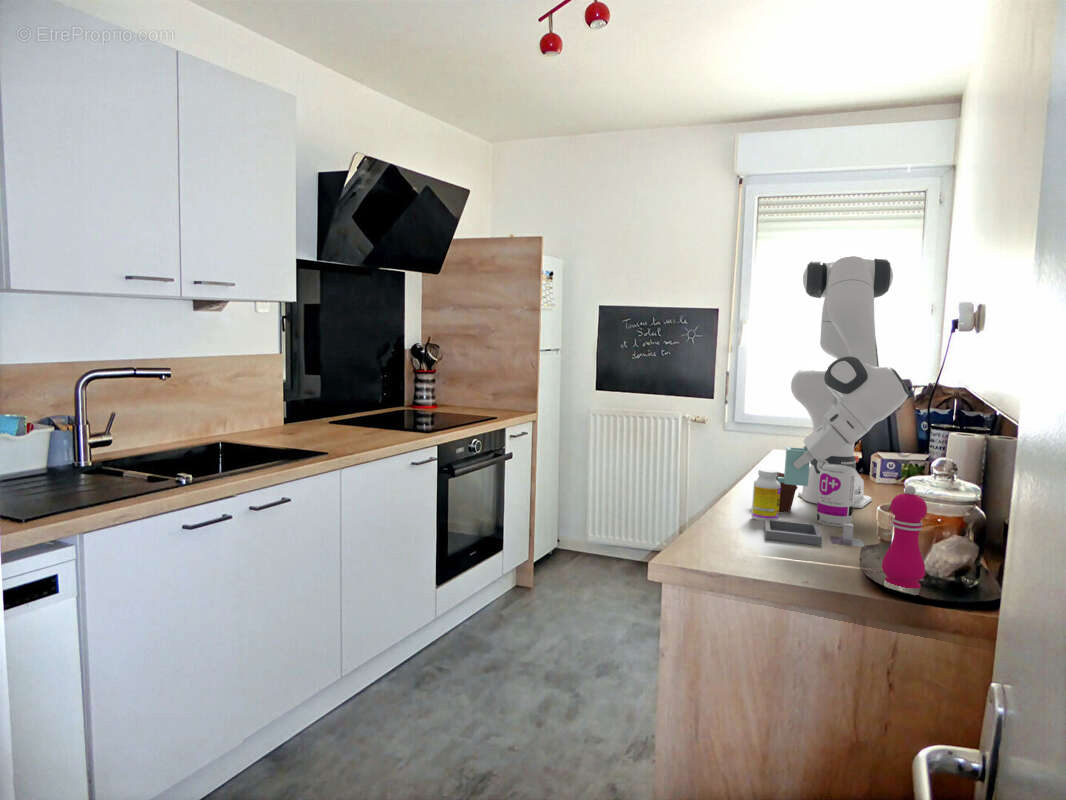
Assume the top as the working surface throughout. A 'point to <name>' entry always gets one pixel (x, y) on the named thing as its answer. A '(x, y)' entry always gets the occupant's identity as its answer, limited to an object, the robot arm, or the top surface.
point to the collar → (791, 472)
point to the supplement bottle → (766, 496)
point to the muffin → (786, 495)
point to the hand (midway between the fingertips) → (794, 464)
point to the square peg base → (847, 537)
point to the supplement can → (835, 495)
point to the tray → (792, 532)
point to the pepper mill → (905, 541)
